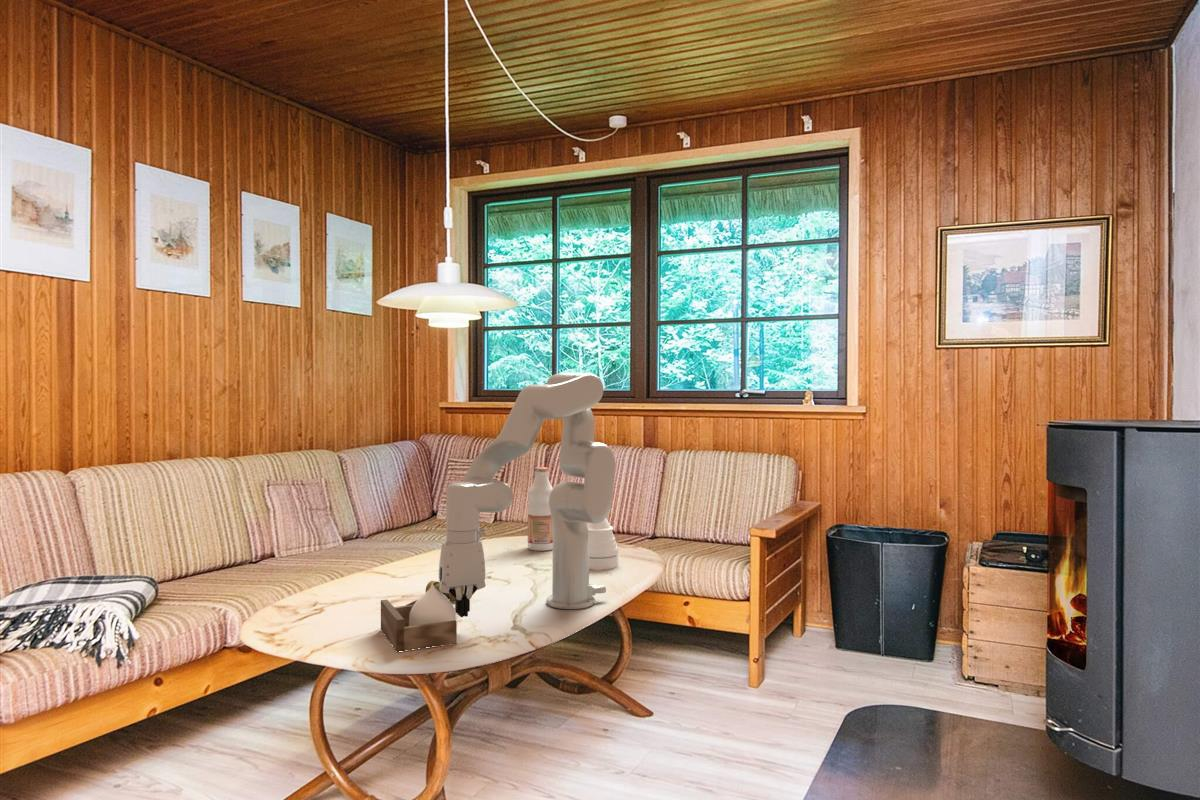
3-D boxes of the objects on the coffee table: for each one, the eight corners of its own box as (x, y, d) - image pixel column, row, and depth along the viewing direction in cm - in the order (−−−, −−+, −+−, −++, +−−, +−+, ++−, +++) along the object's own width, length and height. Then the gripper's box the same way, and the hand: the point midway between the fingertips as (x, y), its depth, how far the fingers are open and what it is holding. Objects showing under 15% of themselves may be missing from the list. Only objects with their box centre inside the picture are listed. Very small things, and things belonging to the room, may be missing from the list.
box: (436, 622, 189) (436, 593, 189) (456, 644, 174) (456, 612, 174) (380, 630, 183) (380, 600, 183) (396, 652, 168) (396, 620, 168)
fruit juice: (522, 547, 275) (522, 467, 274) (545, 544, 281) (545, 465, 280) (537, 552, 267) (537, 469, 267) (560, 549, 273) (560, 468, 273)
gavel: (413, 608, 191) (381, 602, 196) (414, 626, 192) (382, 620, 196) (465, 583, 210) (435, 578, 214) (466, 599, 210) (436, 595, 215)
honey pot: (577, 560, 257) (578, 504, 256) (617, 560, 257) (617, 504, 257) (577, 569, 244) (578, 511, 243) (619, 569, 244) (619, 511, 244)
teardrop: (413, 627, 186) (413, 576, 185) (460, 627, 186) (460, 576, 186) (402, 642, 175) (402, 588, 174) (452, 642, 175) (452, 588, 175)
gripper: (488, 531, 189) (488, 607, 190) (426, 536, 183) (426, 615, 183) (498, 536, 183) (498, 615, 183) (434, 542, 176) (434, 624, 176)
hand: (462, 615), depth 183 cm, fingers closed
